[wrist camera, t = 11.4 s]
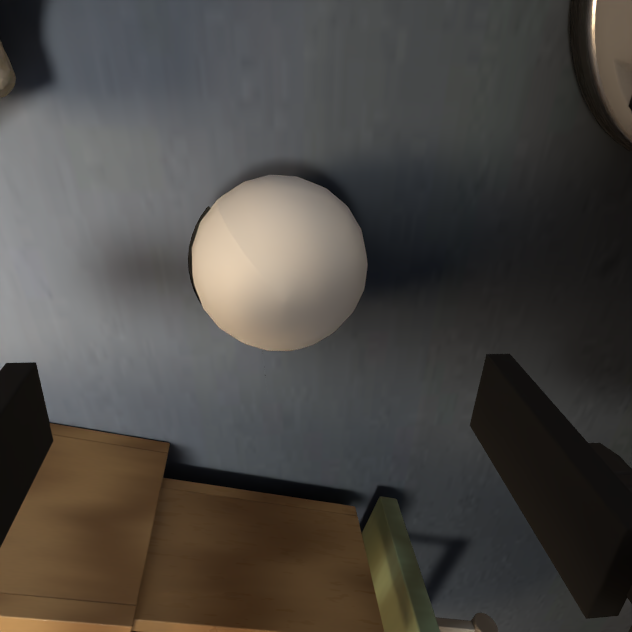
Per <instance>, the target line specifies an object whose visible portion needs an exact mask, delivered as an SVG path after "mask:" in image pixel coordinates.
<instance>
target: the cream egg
mask: <svg viewBox="0 0 632 632" xmlns="http://www.w3.org/2000/svg"><path fill="white" fill-rule="evenodd" d="M367 266H368V263H367V255H366V250H365V245H364V240H363V235H362V230H361V228H360V226H359V225H358V223H357V221H356V220H355V218H354V216H353V215H352V213H351V211H350V209H349V208H348V206H347V205H345V204H344V203H343V202H342V201H341V200H340V199H338V198H337V197H336V196H335V195H334V194H332V193H331V192H330V191H329V190H328V189H327V188H324V187H322V186H320V185H317V184H315V183H312V182H310V181H307V180H305V179H302V178H299V177H297V176H283V175H267V176H263V177H259V178H256V179H252V180H248V181H244V182H243V183H241V184H240V185H238V186H237V187H235V188H234V189H232V190H231V191H229V192H228V193H226V194H224V195H223V196H222V197H220V198H219V199H218V200H217V201H216V202H215V203H214V205H213V206H212V207H211V208H210V207H209V206H208V207H207V208H206V210H205V211H204V212H203V214H202V215H201V217H200V219H199V221H198V222H197V224H196V226H195V229H194V231H193V234H192V237H191V241H190V246H189V254H188V267H189V274H190V280H191V283H192V286H193V289H194V292H195V294H196V296H197V298H198V300H199V301H200V303H201V304H202V306H203V309H204V310H205V311H206V312H207V313H208V315H209V316H210V317H211V318H212V319H213V321H214V322H215V323H216V324H217V326H218V327H219V328H220V329H222V330H224V331H225V332H227V333H228V334H230V335H231V336H233V337H234V338H236V339H237V340H239V341H241V342H243V343H245V344H247V345H251V346H254V347H257V348H261V349H264V350H268V351H293V350H296V349H300V348H304V347H308V346H311V345H314V344H316V343H317V342H319V341H321V340H322V339H324V338H326V337H328V336H329V335H331V334H332V333H334V332H335V331H336V330H337V329H338V328H339V327H340V326H341V325H342V324H343V322H344V321H345V320H346V319H347V318H348V317H349V316H350V315H351V314H352V313H353V312H354V310H355V308H356V306H357V304H358V302H359V300H360V297H361V295H362V293H363V291H364V289H365V281H366V274H367ZM262 352H263V350H262ZM264 368H265V367H264ZM265 376H266V375H265Z"/></svg>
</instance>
